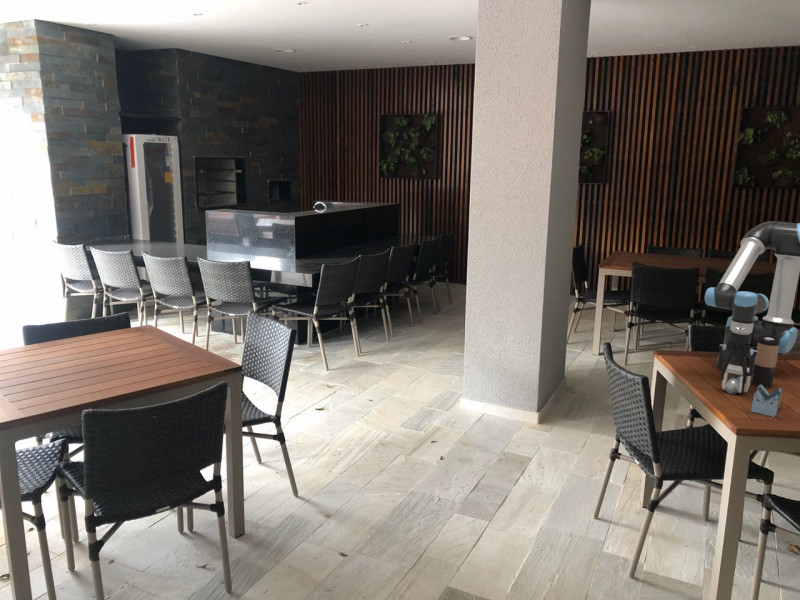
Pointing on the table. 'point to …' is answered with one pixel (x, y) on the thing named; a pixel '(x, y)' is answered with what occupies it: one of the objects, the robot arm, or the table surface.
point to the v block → (766, 401)
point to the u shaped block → (739, 371)
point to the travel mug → (765, 361)
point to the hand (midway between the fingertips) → (731, 389)
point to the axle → (733, 384)
